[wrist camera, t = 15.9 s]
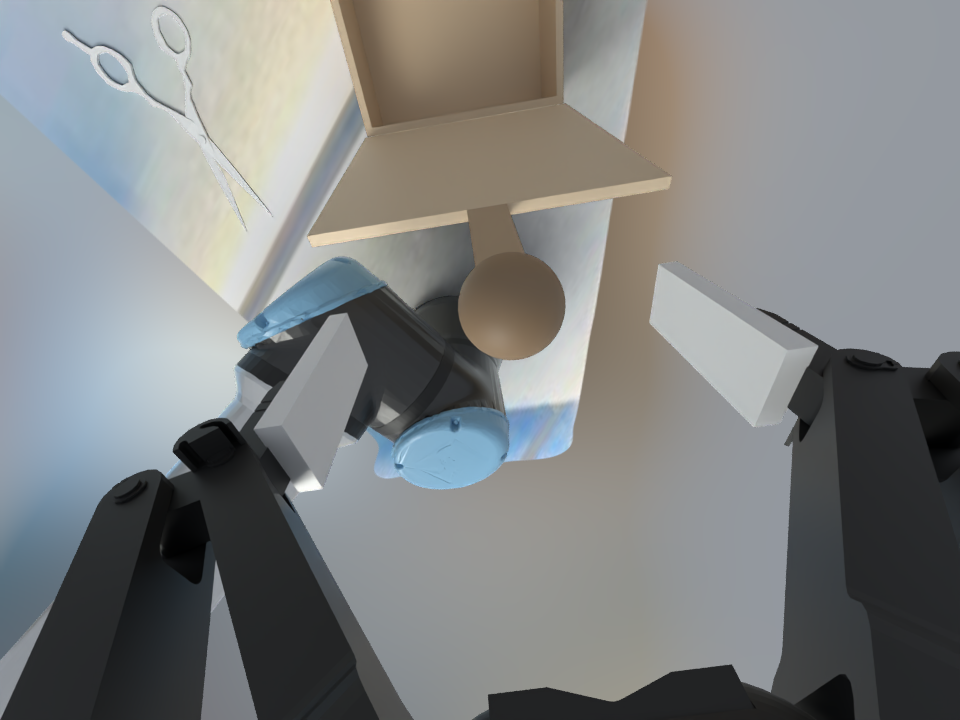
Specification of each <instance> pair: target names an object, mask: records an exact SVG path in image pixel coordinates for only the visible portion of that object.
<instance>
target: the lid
mask: <svg viewBox="0 0 960 720" xmlns="http://www.w3.org/2000/svg"><path fill="white" fill-rule="evenodd" d="M671 179H672V176H671V175H670V174H668V173H667V172H665V171H664V170H662V169H661V168H660V167H658V166H657V165H655V164H654V163H652V162H651V161H649V160H648V159H646V158H645V157H643V156H642V155H641V154H639V153H637V152H636V151H635V150H633V149H632V148H630V147H629V146H627V145H626V144H624V143H623V142H621V141H620V140H619V139H617V138H616V137H614V136H613V135H611V134H610V133H608V132H607V131H605V130H604V129H602V128H601V127H599V126H598V125H597V124H595V123H594V122H592V121H591V120H589V119H588V118H586V117H585V116H583V115H582V114H580V113H579V112H578V111H576V110H575V109H573V108H572V107H570V106H569V105H567V104H566V103H565V104H559V105H553V106H548V107H542V108H536V109H530V110H524V111H519V112H513V113H507V114H501V115H496V116H490V117H484V118H478V119H472V120H467V121H461V122H455V123H449V124H443V125H438V126H432V127H426V128H420V129H414V130H409V131H403V132H397V133H391V134H385V135H380V136H374V137H368V138H365V140H364V142H363V143H362V145H361V147H360V148H359V150H358V152H357V153H356V155H355V157H354V158H353V160H352V162H351V163H350V165H349V167H348V168H347V170H346V172H345V173H344V175H343V177H342V178H341V180H340V182H339V183H338V185H337V187H336V188H335V190H334V192H333V193H332V195H331V197H330V198H329V200H328V202H327V204H326V205H325V207H324V209H323V210H322V212H321V214H320V215H319V217H318V219H317V220H316V222H315V224H314V225H313V227H312V229H311V230H310V232H309V234H308V235H307V237H308V239H309V241H310V243H311V245H312V247H317V246H323V245H329V244H336V243H342V242H348V241H354V240H360V239H366V238H372V237H378V236H384V235H391V234H397V233H403V232H409V231H415V230H421V229H427V228H433V227H439V226H446V225H452V224H458V223H464V222H469V228H470V235H471V241H472V248H473V255H474V262H475V268H474V269H473V270H472V271H471V272H470V273H469V275H468V276H467V278H466V279H465V281H464V283H463V285H462V288H461V291H460V294H459V300H458V313H459V319H460V323H461V326H462V328H463V330H464V332H465V334H466V336H467V337H468V339H469V340H470V341H471V342H472V343H473V344H474V345H475V346H476V347H477V348H478V349H479V350H481V351H482V352H484V353H486V354H487V355H489V356H492V357H495V358H498V359H503V360H519V359H524V358H527V357H530V356H532V355H535V354H537V353H539V352H540V351H542V350H543V349H544V348H546V347H547V346H548V345H549V344H550V343H551V342H552V340H553V339H554V338H555V337H556V335H557V333H558V332H559V330H560V328H561V325H562V322H563V319H564V315H565V296H564V291H563V288H562V285H561V283H560V281H559V279H558V277H557V276H556V274H555V273H554V272H553V270H552V269H551V268H550V267H549V266H548V265H547V264H545V263H544V262H543V261H541V260H540V259H538V258H536V257H534V256H532V255H529V254H525V253H524V250H523V247H522V244H521V242H520V239H519V236H518V233H517V231H516V228H515V225H514V222H513V220H512V217H511V215H513V214H519V213H525V212H531V211H537V210H543V209H549V208H556V207H562V206H568V205H574V204H580V203H586V202H592V201H598V200H604V199H611V198H617V197H623V196H629V195H635V194H641V193H647V192H653V191H659V190H665V189H669V187H670V183H671Z"/></svg>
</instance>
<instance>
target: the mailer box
mask: <svg viewBox="0 0 960 720" xmlns="http://www.w3.org/2000/svg"><path fill="white" fill-rule="evenodd" d="M330 2H331V5H332V9H333V13H334V16H335V20H336V23H337V27H338V31H339V34H340V38H341V42H342V45H343V49H344V53H345V56H346V60H347V64H348V67H349V71H350V74H351V78H352V82H353V85H354V89H355V93H356V96H357V100H358V104H359V107H360V111H361V115H362V118H363V122H364V125H365V129H366V133H367V136H368V137H371V136H380V135H385V134H391V133H397V132H403V131H409V130H414V129H420V128H426V127H432V126H438V125H443V124H449V123H455V122H461V121H467V120H472V119H478V118H484V117H490V116H496V115H501V114H507V113H513V112H519V111H524V110H530V109H536V108H542V107H548V106H553V105H557V104H562V103H563V0H330Z"/></svg>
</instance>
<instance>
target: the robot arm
mask: <svg viewBox="0 0 960 720" xmlns="http://www.w3.org/2000/svg"><path fill="white" fill-rule="evenodd" d="M387 285H388V284H387V283H386V282H385V281H381V280H380V279H378V278H377V277H376V276H375V275H373V274H372V273H371V272H370V271H368V270H367V269H366V268H365V267H364V266H362V265H361V264H360V263H359V262H357V261H356V260H354V259H352V258H349V257H344V256H341V257H335V258H332V259H330V260H328V261H327V262H325V263H324V264H322V265H321V266H319V267H318V268H316V269H315V270H313V271H312V272H311V273H309V274H308V275H307V276H305V277H304V278H303V279H301V280H300V281H299V282H297V283H296V284H295V285H294V286H292V287H291V288H290V289H288V290H287V291H286V292H285V293H283V294H282V295H281V296H280V297H279V298H277V299H276V300H275V301H274V302H272V303H271V304H270V305H269V306H268V307H267V308H265V309H264V311H263V312H261V313H260V314H259V315H257V316H256V317H255V318H254V319H253V320H252V321H250V322H249V323H248V324H247V325H245V326H244V327H243V328H242V329H241V330H240V331H239V333H238V334H237V340H238V341H239V342H240V343H241V347H243V348H245V349H247V348H249V349H250V350H249V351H248V353H247V354H246V355H245V356H244V357H243V358H242V359H241V360H240V361H239V362H238V364H237V365H235V367H234V368H233V369H234V376H235V383H236V396H235V398H234V399H233V400H232V401H231V403H230V404H229V405H228V406H227V407H226V408H225V409H224V410H223V411H222V413H221V414H220V415H219V416H218V417H217V418H216V419H211V420H208V421H206V422H203V423H201V424H199V425H197V426H195V427H194V428H192V429H190V430H188V431H187V432H186V433H185V434H184V435H183V436H182V437H180V438H179V439H178V441H177V442H176V443H175V445H174V448H173V453H174V454H175V455H176V456H177V457H178V458H179V459H180V460H179V461H178V462H177V463H176V464H175V465H174V466H173V468H172V469H171V470H170V471H169V472H168V473H167V474H166V476H164V475H163V474H162V473H161V472H159V471H158V470H146V471H143V472H139V473H137V474H134V475H132V476H130V477H128V478H126V479H124V480H122V481H121V482H120V483H118V484H116V485H115V486H114V487H113V488H112V489H111V490H110V491H109V492H108V493H107V494H106V495H105V496H104V497H103V498H102V500H101V501H100V503H99V504H98V506H97V508H96V510H95V512H94V515H93V517H92V519H91V521H90V523H89V526H88V528H87V530H86V532H85V534H84V537H83V539H82V541H81V543H80V546H79V548H78V550H77V552H76V554H75V556H74V559H73V561H72V563H71V565H70V568H69V570H68V572H67V574H66V576H65V578H64V581H63V583H62V585H61V587H60V589H59V592H58V594H57V596H56V598H55V600H54V601H53V602H52V603H51V604H50V606H49V607H48V608H47V609H46V610H45V611H44V612H43V613H42V615H40V617H39V618H38V619H37V620H36V621H35V622H34V623H33V624H32V626H31V627H30V628H29V629H28V630H27V631H26V632H25V633H24V635H23V636H22V637H21V638H20V639H19V640H18V642H16V644H15V645H14V646H13V647H12V648H11V649H10V650H9V651H8V653H7V654H6V655H5V656H4V657H3V658H2V659H1V660H0V720H201V709H202V699H203V688H204V677H205V667H206V657H207V645H208V635H209V625H210V614H211V613H212V611H213V610H214V609H215V607H216V606H217V604H218V603H219V602H220V600H221V599H222V597H223V596H224V595H225V596H226V600H227V604H228V607H229V611H230V615H231V619H232V623H233V626H234V630H235V634H236V638H237V641H238V646H239V649H240V653H241V657H242V661H243V664H244V668H245V672H246V676H247V680H248V683H249V687H250V691H251V695H252V699H253V702H254V706H255V710H256V714H257V718H258V720H414V719H413V718H412V716H411V715H410V713H409V712H408V711H407V709H406V708H405V706H404V704H403V703H402V701H401V699H400V698H399V696H398V694H397V692H396V691H395V689H394V687H393V685H392V683H391V682H390V679H389V678H388V676H387V674H386V672H385V670H384V669H383V667H382V665H381V664H380V661H379V660H378V658H377V656H376V654H375V652H374V650H373V649H372V647H371V645H370V643H369V641H368V640H367V638H366V636H365V634H364V632H363V631H362V629H361V627H360V625H359V623H358V622H357V620H356V618H355V616H354V614H353V613H352V611H351V609H350V607H349V605H348V603H347V602H346V600H345V598H344V596H343V594H342V592H341V591H340V589H339V587H338V585H337V583H336V582H335V580H334V578H333V576H332V574H331V572H330V571H329V569H328V567H327V565H326V563H325V562H324V560H323V558H322V556H321V555H320V553H319V551H318V549H317V547H316V545H315V543H314V542H313V540H312V538H311V536H310V534H309V533H308V531H307V529H306V527H305V525H304V524H303V522H302V520H301V518H300V516H299V515H298V513H297V511H296V509H295V507H294V505H293V504H292V501H293V500H294V499H295V497H296V496H297V495H298V493H299V492H304V491H311V490H318V489H323V487H324V485H325V482H326V479H327V476H328V474H329V471H330V468H331V466H332V463H333V460H334V457H335V455H336V452H337V449H338V448H339V447H344V446H347V445H351V444H355V443H357V442H358V440H359V439H360V438H361V436H362V435H363V433H364V432H365V430H366V429H367V428H368V426H369V427H371V428H372V429H374V430H375V431H377V432H378V433H380V434H381V435H383V436H384V437H386V438H387V439H389V440H391V441H392V442H393V443H394V445H393V448H392V458H393V460H394V466H395V469H396V470H397V472H398V473H399V475H400V476H401V477H403V478H404V479H405V480H407V481H408V482H410V483H412V484H414V485H417V486H420V487H424V488H430V489H451V488H460V487H465V486H468V485H471V484H474V483H477V482H479V481H481V480H483V479H485V478H487V477H488V476H490V475H491V474H492V473H494V472H495V471H496V470H497V469H498V468H499V467H500V466H501V465H502V463H503V462H504V460H505V458H506V456H507V452H508V449H509V422H508V420H507V417H506V413H505V407H504V402H503V396H502V391H501V385H500V380H499V375H498V371H499V368H500V365H501V363H502V360H503V359H498V358H495V357H492V356H489V355H487V354H486V353H484V352H482V351H481V350H479V349H478V348H477V347H476V346H475V345H474V344H473V343H472V342H471V341H470V340H469V339H468V337H467V336H466V334H465V332H464V330H463V328H462V326H461V323H460V319H459V313H458V300H459V296H447V297H441V298H437V299H434V300H431V301H429V302H427V303H425V304H424V305H422V306H421V307H419V308H418V309H417V310H416V311H414V310H413V309H411V308H410V307H409V306H408V305H407V304H406V303H405V302H404V301H403V300H402V299H401V298H400V297H399V296H398V295H397V294H395V293H394V292H393V291H392V290H391V289H390V288H389V287H388V286H387ZM650 324H651V325H652V326H653V327H654V328H655V329H656V330H657V331H658V332H659V333H660V334H661V335H662V336H663V337H664V338H665V339H666V340H667V341H668V342H669V343H670V344H671V345H672V346H673V347H674V348H675V349H676V350H677V351H678V352H679V353H680V354H681V355H682V356H683V357H684V358H685V359H686V360H687V361H688V362H689V363H690V364H691V365H692V366H693V367H694V368H695V369H696V370H697V371H698V372H699V373H700V374H701V375H702V376H703V377H704V378H705V379H706V380H707V381H708V382H709V383H710V384H711V385H712V386H713V387H714V388H715V389H716V390H717V391H718V392H719V393H720V394H721V395H722V396H723V397H724V398H725V399H726V400H727V401H728V402H729V403H730V404H731V405H732V406H733V407H734V408H735V409H736V410H737V411H738V412H739V413H740V414H741V415H742V416H743V417H744V418H745V419H746V420H747V421H748V422H749V423H750V424H751V425H752V426H753V427H762V426H769V425H776V424H780V423H781V421H782V419H783V417H784V415H785V413H786V411H787V409H788V408H789V409H790V410H791V411H792V412H793V413H795V414H796V415H797V416H798V419H797V421H796V423H795V425H794V427H793V429H792V431H791V433H790V434H789V436H788V439H787V440H786V442H785V444H784V445H786V446H789V445H790V444H791V442H793V449H792V469H791V471H792V472H791V490H790V510H789V531H788V551H787V570H786V590H785V611H784V631H783V648H782V656H781V661H780V664H779V667H778V669H777V672H776V675H775V677H774V681H773V686H772V690H771V693H770V692H768V691H765V690H763V689H761V688H758V687H755V686H752V685H749V684H747V683H743V682H741V681H740V679H739V677H738V675H737V673H736V672H735V670H734V668H733V666H732V665H724V666H716V667H708V668H700V669H692V670H684V671H675V672H670V673H669V674H667V675H665V676H663V677H661V678H660V679H658V680H656V681H654V682H652V683H651V684H649V685H647V686H645V687H643V688H641V689H639V690H638V691H636V692H634V693H632V694H630V695H629V696H627V697H625V698H623V699H621V700H619V701H615V702H610V701H605V700H601V699H596V698H592V697H587V696H582V695H578V694H574V693H570V692H565V691H561V690H556V689H551V688H547V687H546V688H538V689H530V690H522V691H514V692H505V693H497V694H489V695H488V701H489V710H487V711H485V712H483V713H481V714H480V715H478V716H477V717H475V718H474V719H473V720H960V352H947V353H943V354H941V355H940V356H939V357H938V359H937V360H936V361H935V363H934V364H933V365H932V367H931V368H912V367H902V366H901V365H900V364H899V363H898V362H896V361H895V360H893V359H891V358H889V357H887V356H884V355H881V354H879V353H875V352H871V351H867V350H860V349H840V350H837V349H835V348H833V347H831V346H830V345H828V344H826V343H825V342H823V341H821V340H819V339H818V338H816V337H814V336H812V335H811V334H809V333H807V332H806V331H804V330H800V328H799V327H797V326H795V325H794V324H792V323H788V321H786V320H785V319H783V318H781V317H780V316H778V315H776V314H774V313H771V312H768V311H765V310H762V309H758V308H754V307H753V306H751V305H749V304H748V303H746V302H744V301H742V300H741V299H739V298H738V297H736V296H734V295H733V294H731V293H729V292H728V291H726V290H724V289H723V288H721V287H719V286H718V285H716V284H714V283H712V282H711V281H709V280H708V279H706V278H704V277H703V276H701V275H699V274H698V273H696V272H694V271H693V270H691V269H689V268H687V267H686V266H684V265H683V264H681V263H679V262H678V261H676V262H669V263H663V264H658V271H657V277H656V284H655V290H654V296H653V303H652V309H651V316H650Z"/></svg>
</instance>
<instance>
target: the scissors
mask: <svg viewBox="0 0 960 720" xmlns="http://www.w3.org/2000/svg"><path fill="white" fill-rule="evenodd" d="M163 15H170V16H172V17H173V18H174V19H175V20H176V21H177V22H178V24H179V25H180V27H181V29H182V31H183V32H184V34H185V51H183V52H182V53H180V54H177V53H175V52H174V51H173V50H171V49H170V48H169V47H168V46H167V44H166V42H165V40H164V38H163V36H162V34H161V32H160V28H159V22H158V21H159V17H161V16H163ZM151 24H152V28H153V32H154V36H155V38H156V41H157V43H158V45H159V48H160V49H162V50H163V51H164V52H166V53H167V54H168V55H169V56H171V57H172V58H173V59H174V60H176V63H177V66H178V68H179V70H180V72H181V74H182V75H183V79H184V85H185V98H186V99H185V116H186V117H185V116H183V115H182V114H180V113H178V112H176V111H174V110H172V109H170V108H168V107H166V106H164V105H162V104H161V103H159V102H157V101H156V100H154V99H153V98H152V97H150V96H149V95H148V94H147V93H146V92H145V90H144V89H143V88H142V87H141V85H140V84H139V83H138V82H137V80H136V77H135V74H134V70H133V66H132V64H131V63H130V62H129V61H128V60H127V59H126V58H125V57H123V56H122V55H121V54H119V53H118V52H116V51H114V50H112V49H110V48H107V47H105V46H96V47H94V48H92V49H91V48H90V47H88V46H86V45H85V44H83V43H81V42H80V41H78V40H77V39H76V38H75V37H74V36H73V35H72V34H70V33H69V32H68V31H63V32H62V36H63V37H64V38H65V40H66V41H69V42H71V43H73V44H75V45H76V46H78V47H79V48H80V49H81V50H83V51H84V52H86V53H87V54H89V55H90V61H91V62H92V64H93V66H94V68H95V70H96V71H97V73H98V74H99V75H100V76H101V77H102V79H103V80H104V81H105V82H106V83H107V84H108V85H110V86H112V87H114V88H116V89H118V90H121V91H125V92H135V93H137V94H139V95H141V96H143V97H144V98H145V99H146V100H147V101H148V102H149V104H150V105H151V106H152V107H157V108H161V109H163V110H164V111H166V112H168V113H170V114H171V116H172V117H173V118H174V119H175V120H176V121H177V122H178V123H179V125H180V126H181V127H182V128H183V129H184V130H185V131H186V132H187V133H188V134H189V135H190V136H191V137H192V138H193V139H194V140H195V141H196V142H197V143H198V144H199V145H200V147H201V149H202V151H203V153H204V155H205V157H206V159H207V161H208V163H209V165H210V167H211V169H212V171H213V173H214V175H215V177H216V179H217V180H218V182H219V184H220V186H221V188H222V190H223V191H224V193H225V195H226V197H227V198H228V200H229V202H230V204H231V206H232V207H233V209H234V211H235V213H236V215H237V217H238V218H239V220H240V222H241V223H242V225H243V226H244V223H243V220H242V218H241V215H240V213H239V210H238V208H237V205H236V203H235V200H234V198H233V195H232V193H231V191H230V188H229V186H228V183H227V181H226V178H225V176H224V174H223V172H222V171H221V169H220V168H219V166H218V165H217V163H216V161H217V162H218V163H219V164H220V165H221V166H222V167H223V168H224V169H225V170H226V171H227V172H228V173H229V174H230V175H231V176H232V177H233V178H234V179H235V180H236V181H237V182H238V183H239V184H240V185H241V186H242V187H243V188H244V189H245V190H246V191H247V192H248V193H249V194H250V195H251V196H252V197H253V198H254V199H255V200H256V201H257V202H258V203H259V204H260V205H261V206H262V207H263V208H264V209H265V210H266V211H267V212H268V213H269V214H271V213H270V212H269V211H268V210H267V208H266V207H265V206H264V204H263V203H262V202H261V201H260V199H259V198H258V197H257V195H256V194H255V193H254V192H253V190H252V189H251V188H250V187H249V185H248V184H247V183H246V182H245V180H244V179H243V178H242V177H241V175H240V174H239V173H238V172H237V170H236V169H235V168H234V167H233V166H232V164H231V163H230V162H229V161H228V159H227V158H226V157H225V156H224V155H223V153H222V152H221V151H220V150H219V149H218V147H217V146H216V145H215V144H214V143H213V142H212V140H211V139H210V138H209V137H208V135H207V132H206V130H205V128H204V126H203V124H202V122H201V120H200V118H199V116H198V113H197V111H196V108H195V105H194V103H193V101H192V97H191V90H192V87H193V85H192V83H191V81H190V79H189V77H188V75H187V73H186V71H185V70H186V66H187V62H188V59H189V58H190V55H191V40H190V36H189V33H188V30H187V29H186V27H185V25H184V23H183V22H182V20H181V19H180V18H179V17H178V16H177V15H176V14H175V13H174V12H172V11H171V10H169V9H167V8H165V7H157V8H156V9H155V10H154V11H153V13H152V18H151ZM105 52H106V53H109V54H110V55H112V56H114V57H115V58H116V59H117V60H118V61H119V62H120V63H121V65H122V66H123V67H124V69H125V70H126V72H127V74H128V81H129V83H127V84H124V85H120V84H118V83H116V82H114V81H113V80H112V79H111V78H109V76H108V75H107V74H106V73H105V71H104V70H103V69H102V67H101V65H100V61H99V57H100V54H102V53H105ZM214 159H215V160H216V161H215V160H214ZM244 228H245V226H244ZM245 230H246V228H245Z"/></svg>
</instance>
